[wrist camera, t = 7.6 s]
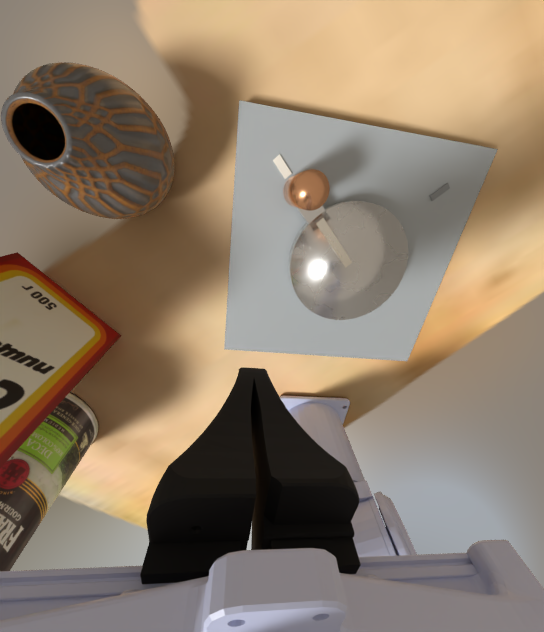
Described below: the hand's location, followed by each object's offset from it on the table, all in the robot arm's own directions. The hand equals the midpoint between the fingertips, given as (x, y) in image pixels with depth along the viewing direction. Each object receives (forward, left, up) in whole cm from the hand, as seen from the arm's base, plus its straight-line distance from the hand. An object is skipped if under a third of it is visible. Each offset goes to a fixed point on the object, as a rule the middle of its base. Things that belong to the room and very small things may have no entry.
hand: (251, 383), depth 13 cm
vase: (+10, +9, -11) cm, 17 cm away
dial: (+6, -6, -9) cm, 12 cm away
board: (+5, -7, -10) cm, 13 cm away
